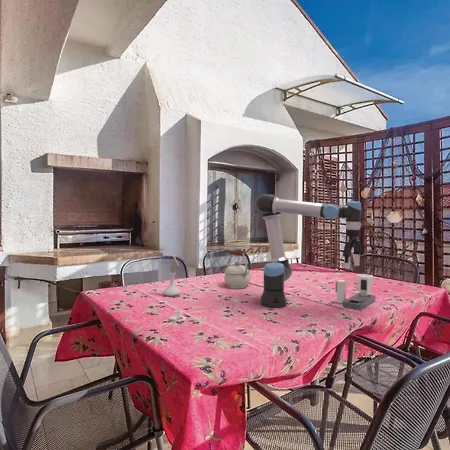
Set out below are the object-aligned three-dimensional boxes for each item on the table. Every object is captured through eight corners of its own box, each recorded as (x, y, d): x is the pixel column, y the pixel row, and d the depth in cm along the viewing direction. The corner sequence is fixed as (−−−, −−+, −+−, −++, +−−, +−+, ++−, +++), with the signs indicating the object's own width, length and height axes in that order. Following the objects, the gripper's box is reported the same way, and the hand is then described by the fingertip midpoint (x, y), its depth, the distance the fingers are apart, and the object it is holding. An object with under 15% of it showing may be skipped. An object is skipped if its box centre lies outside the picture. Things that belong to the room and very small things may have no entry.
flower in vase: (177, 297, 207) (177, 257, 206) (160, 296, 209) (159, 256, 208) (184, 292, 220) (184, 254, 219) (167, 291, 222) (167, 254, 221)
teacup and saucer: (170, 322, 163) (170, 314, 163) (166, 317, 170) (166, 309, 170) (187, 320, 167) (187, 312, 166) (183, 315, 174) (183, 307, 174)
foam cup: (360, 292, 222) (361, 273, 222) (374, 295, 216) (375, 275, 215) (354, 295, 215) (354, 275, 215) (368, 298, 209) (369, 277, 208)
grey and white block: (342, 306, 190) (343, 282, 190) (358, 297, 210) (359, 275, 209) (360, 310, 184) (361, 285, 183) (375, 300, 204) (375, 277, 203)
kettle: (256, 287, 235) (257, 252, 233) (235, 291, 224) (235, 254, 223) (235, 281, 255) (236, 248, 254) (215, 284, 245) (215, 250, 244)
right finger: (345, 302, 199) (346, 280, 199) (343, 303, 196) (343, 281, 196) (337, 300, 202) (338, 279, 202) (335, 302, 199) (335, 280, 199)
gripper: (350, 230, 175) (349, 270, 176) (368, 228, 193) (367, 265, 194) (337, 229, 180) (335, 269, 181) (355, 228, 198) (354, 263, 199)
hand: (351, 267), depth 188 cm, fingers open, 13 cm apart
